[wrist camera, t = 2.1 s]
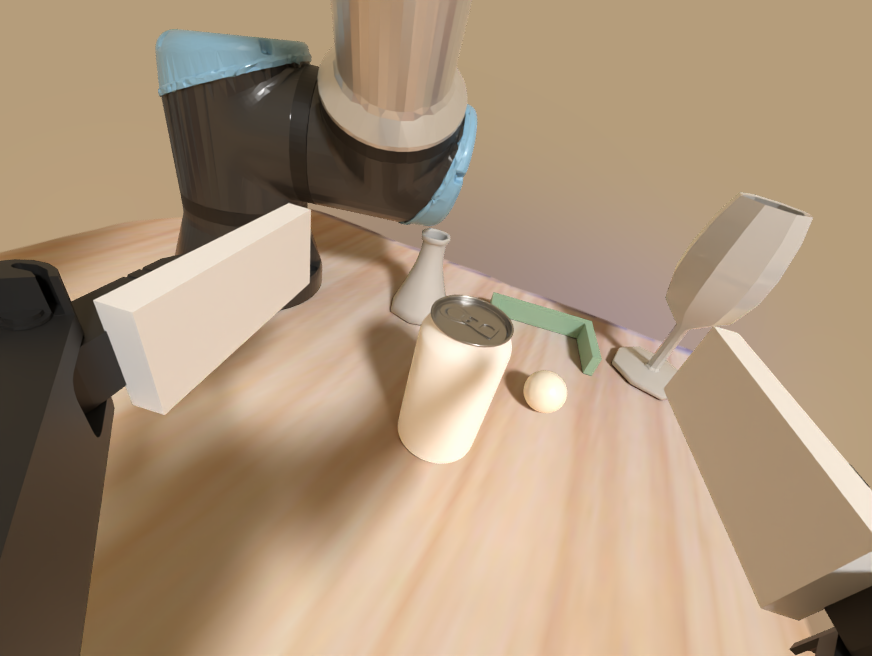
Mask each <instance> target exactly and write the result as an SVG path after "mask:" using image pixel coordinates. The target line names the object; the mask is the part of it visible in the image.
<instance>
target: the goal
mask: <svg viewBox="0 0 872 656" xmlns="http://www.w3.org/2000/svg"><path fill="white" fill-rule="evenodd" d="M490 303H491V304H493V305H495V306H496V307H498V308H499V309H501V310H502V311H503V312H504V313H505V314H506V315H507V316H508V317H509V318H510V319H513V320H516V321H520V322H523V323H526V324H530V325H533V326H536V327H540V328H543V329H547V330H550V331H553V332H557V333H560V334H563V335H567V336H570V337H573V338H577V343H578V349H579V354H580V360H581V365H582V371H583V373H584V374H587V375H591V376H592V374H593V373H594V371H595V369H596V368H597V366H598V365H599V363H600V361H601V360H602V359H601V355H600V351H599V347H598V343H597V339H596V335H595V332H594V328H593V324H592V321H590V320H586V319H583V318H579V317H576V316H573V315H569V314H566V313H562V312H559V311H556V310H552V309H549V308H546V307H542V306H539V305H535V304H532V303H529V302H525V301H522V300H518V299H515V298H512V297H508V296H505V295H501V294H498V293H495V292H493V295H492V298H491V301H490Z"/></svg>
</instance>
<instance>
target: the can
mask: <svg viewBox="0 0 872 656" xmlns="http://www.w3.org/2000/svg"><path fill="white" fill-rule="evenodd" d="M513 332H514V328H513V324H512V322H511V320H510V319H509V317H508V316H507V315H506V314H505V313H504V312H503V311H502V310H501V309H499V308H498V307H496V306H495V305H493V304H491V303H489V302H487V301H485V300H482V299H479V298H476V297H471V296H466V295H450V296H445V297H442V298H440V299H438V300H437V301H435V302H434V304H433V305H432V307H431V312H430V313H429V314H428V315H427V316H426V317H425V319H424V320H423V322H422V324H421V327H420V330H419V334H418V338H417V342H416V346H415V350H414V355H413V359H412V363H411V367H410V371H409V376H408V380H407V384H406V389H405V393H404V397H403V402H402V406H401V410H400V415H399V420H398V433H399V436H400V439H401V441H402V443H403V444H404V446H405V447H406V448H407V449H408V450H409V451H410V452H411V453H412V454H414V455H415V456H417V457H418V458H420V459H422V460H425V461H428V462H432V463H439V464H443V463H451V462H454V461H457V460H459V459H460V458H462V457H463V456H464V455H465V454H466V453H467V452H468V451H469V449H470V448H471V446H472V444H473V441H474V439H475V437H476V435H477V433H478V430H479V428H480V426H481V424H482V421H483V419H484V417H485V414H486V412H487V410H488V408H489V405H490V403H491V401H492V398H493V396H494V394H495V392H496V389H497V387H498V385H499V382H500V380H501V378H502V375H503V373H504V371H505V368H506V366H507V364H508V361H509V358H510V355H511V352H512V343H511V337H512V335H513Z"/></svg>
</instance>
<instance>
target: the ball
mask: <svg viewBox="0 0 872 656" xmlns="http://www.w3.org/2000/svg"><path fill="white" fill-rule="evenodd" d="M523 392H524V397H525V400H526V402H527V403H528V405H529V406H530V407H531V408H533V409H534V410H536V411H538V412H542V413H551V412H554V411H557V410H558V409H560V408H561V407H562V406H563V404H564V403H565V401H566V398H567V388H566V384H565V382H564V381H563V379H562V378H561V377H560V376H559V375H557V374H556V373H554V372H551V371H546V370H542V371H538V372H535V373H533V374H532V375H530V376H529V377H528V379H527V380H526V382H525V384H524V390H523Z"/></svg>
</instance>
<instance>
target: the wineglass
mask: <svg viewBox="0 0 872 656" xmlns="http://www.w3.org/2000/svg"><path fill="white" fill-rule="evenodd" d="M812 219H813V217H812V216H811V215H810V214H809V213H807V212H804V211H801V210H799V209H796V208H794V207H791V206H788V205H786V204H783V203H780V202H777V201H773V200H770V199H767V198H764V197H761V196H758V195H753V194H748V193H742V192H739V193H738V194H737V195H736V196H735V197H734V198H733V199H731V200H730V201H729V202H728V203H727V204H726V205H725V206H724V207H723V208H722V209H720V211H718V212H717V213H716V214H715V216H714V217H713V218H712V219H711V220H710V221H709V222H708V224H707V225H706V226H705V227H704V228H703V229H702V231H701V232H700V233H699V234H698V235H697V236H696V237H695V239H694V240H693V241H692V242H691V244H690V245H689V247H688V248H687V250H686V251H685V253H684V254H683V256H682V257H681V259H680V260H679V262H678V263H677V265H676V268H675V271H674V274H673V276H672V280H671V282H670V285H669V288H668V291H667V294H666V297H665V298H666V300H667V303H668V305H669V307H670V310H671V312H672V314H673V317H674V319H675V321H676V325H675V326H674V328H673V329H672V331H671V332H670V333H669V334H668V336H667V337H666V339H665V340H664V341H663V343H662V344H661V345H660V347H659V348H658V349H657V351H656V352H655V353H654V354H653V353H651V352H649V351H647V350H645V349H643V348H641V347H622V348H619V349H618V350H617V352H616V354H615V357H614V359H613V361H612V365H613V366H614V367H615V368H616V369H617V370H618V371H619V372H620V373H621V374H622V375H623V376H624V377H625V379H626V380H627V381H628V382H629V383H630V384H631V385H633V386H635V387H637V388H639V389H641V390H643V391H645V392H646V393H648V394H650V395H652V396H654V397H656V398H658V399H660V400H666V399H668V398H667V396H666V394H665V392H664V387H665V386H666V385H667V384H668V382H669V381H670V380H671V379H672V377H673V376H674V375H675V374H676V372H677V371H678V370H677V369H676V368H675V367H674V366H672V365H671V364H670V363H669V362H668V361H667V358H668V357H669V356H670V354H671V353H672V352H673V350H674V349H675V348H676V346H677V345H678V343H679V342H680V341H681V340H682V338H683V337H684V336H685V334H686V333H687V332H688V330H691V329H699V328H707V327H713V326H715V327H716V326H724V325H731V324H733V323H734V322H735V321H737V320H738V319H740V318H741V317H743V316H744V315H745V314H747V313H748V312H749V311H751V310H752V309H754V308H755V307H757V306H758V305H759V304H760V302H761V301H762V300H763V299H764V298H765V297H766V296H767V294H768V293H769V292H770V291H771V290H772V289H773V287H774V286H775V285H776V284H777V283H778V282H779V280H780V278H781V276H782V275H783V274H784V272H785V271H786V269H787V267H788V266H789V264H790V262H791V261H792V259H793V257H794V256H795V254H796V253H797V251H798V250H799V248H800V246H801V245H802V242H803V240H804V238H805V235H806V233H807V230H808V228H809V226H810V223H811V221H812Z"/></svg>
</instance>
